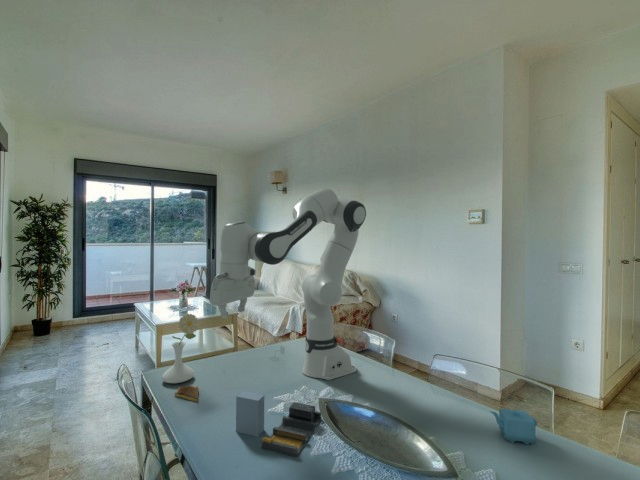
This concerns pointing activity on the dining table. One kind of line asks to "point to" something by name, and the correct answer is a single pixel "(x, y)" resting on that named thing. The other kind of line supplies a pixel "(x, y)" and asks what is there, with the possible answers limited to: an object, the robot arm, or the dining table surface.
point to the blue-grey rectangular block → (250, 413)
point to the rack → (293, 430)
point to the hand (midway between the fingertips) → (233, 314)
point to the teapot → (516, 425)
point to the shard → (188, 393)
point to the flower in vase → (180, 370)
